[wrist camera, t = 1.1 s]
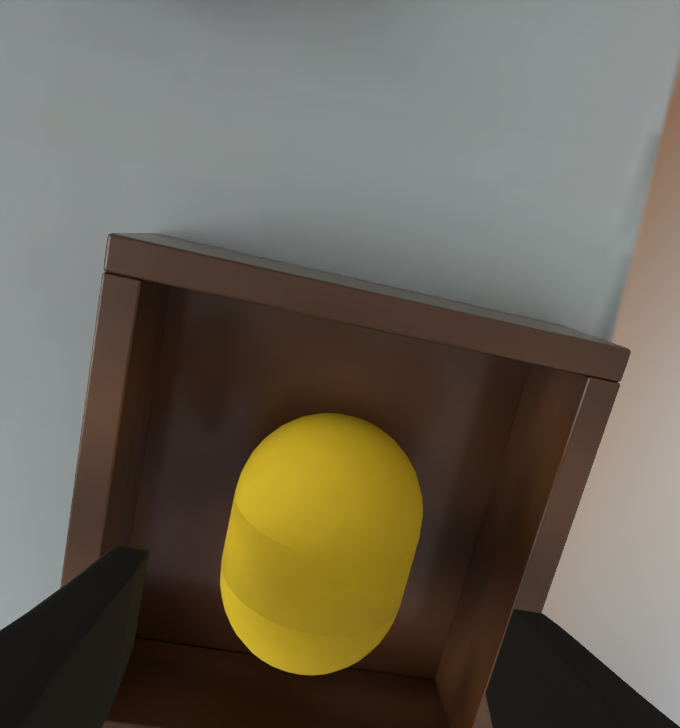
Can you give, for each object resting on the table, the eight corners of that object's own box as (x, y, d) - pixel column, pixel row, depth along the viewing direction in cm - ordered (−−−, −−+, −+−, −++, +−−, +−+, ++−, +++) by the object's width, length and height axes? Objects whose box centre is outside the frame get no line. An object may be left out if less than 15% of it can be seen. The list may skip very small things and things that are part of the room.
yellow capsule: (369, 604, 17) (393, 736, 13) (218, 580, 16) (188, 710, 12) (421, 408, 16) (470, 478, 11) (260, 375, 15) (243, 435, 11)
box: (447, 690, 19) (480, 792, 15) (90, 640, 17) (38, 741, 14) (562, 324, 16) (633, 350, 12) (152, 232, 15) (106, 232, 11)
